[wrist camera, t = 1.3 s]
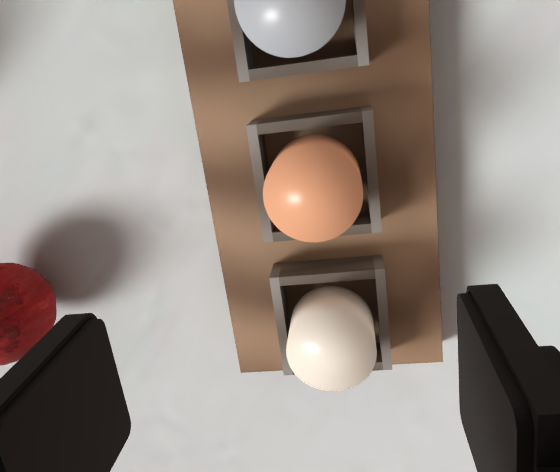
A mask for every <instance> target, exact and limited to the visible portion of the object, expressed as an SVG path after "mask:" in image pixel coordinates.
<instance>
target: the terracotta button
mask: <svg viewBox="0 0 560 472" xmlns="http://www.w3.org/2000/svg"><path fill="white" fill-rule="evenodd" d="M263 201H264V206H265V209H266V212H267V214H268V216H269V218H270V219H271V221H272V222H273V224H274V225H275V226H276V227H277V228H278V229H279V230H280V231H282V232H283V233H284V234H286V235H287V236H289V237H291V238H294V239H296V240H299V241H304V242H323V241H327V240H331V239H333V238H335V237H337V236H339V235H341V234H342V233H344V232H345V231H346V230H347V229H348V228H349V227H350V226H351V225H352V224H353V223H354V222H355V220H356V218H357V217H358V215H359V212H360V210H361V207H362V202H363V187H362V180H361V173H360V168H359V164H358V162H357V159H356V157H355V156H354V154H353V153H352V151H351V150H350V149H349V148H348V147H347V146H346V145H345V144H344V143H342V142H341V141H339V140H337V139H335V138H333V137H330V136H327V135H322V134H310V135H304V136H301V137H298V138H296V139H294V140H292V141H291V142H289V143H288V144H287V145H286V146H285V147H284V148H283V149H282V150H281V151H280V152H279V154H278V155H277V157H276V159H275V160H274V162H273V164H272V166H271V168H270V169H269V171H268V173H267V175H266V178H265V181H264V186H263Z"/></svg>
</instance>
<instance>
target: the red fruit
mask: <svg viewBox="0 0 560 472" xmlns="http://www.w3.org/2000/svg"><path fill="white" fill-rule="evenodd" d="M55 320H56V297H55V295H54V293H53V290H52V288H51V286H50V284H49V282H48V281H47V280H46V279H45V278H44V277H42V276H41V275H40V274H39V273H38V272H37V271H36V270H34V269H31V268H28V267H26V266H23V265H20V264H16V263H0V365H6V364H9V363H12V362H15V361H18V360H20V359H21V358H22V357H23V356H24V355H25V354H26V353H27V352H28V351H29V350H30V349H31V348H32V347H33V346H34V345H35V344H36V343H37V342H38V341H39V340H40V339H41V338H42V337H43V336H44V335H45V334H46V333H47V332H48V331H49V330H50V329H51V328H52V327H53V325H54V323H55Z"/></svg>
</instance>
